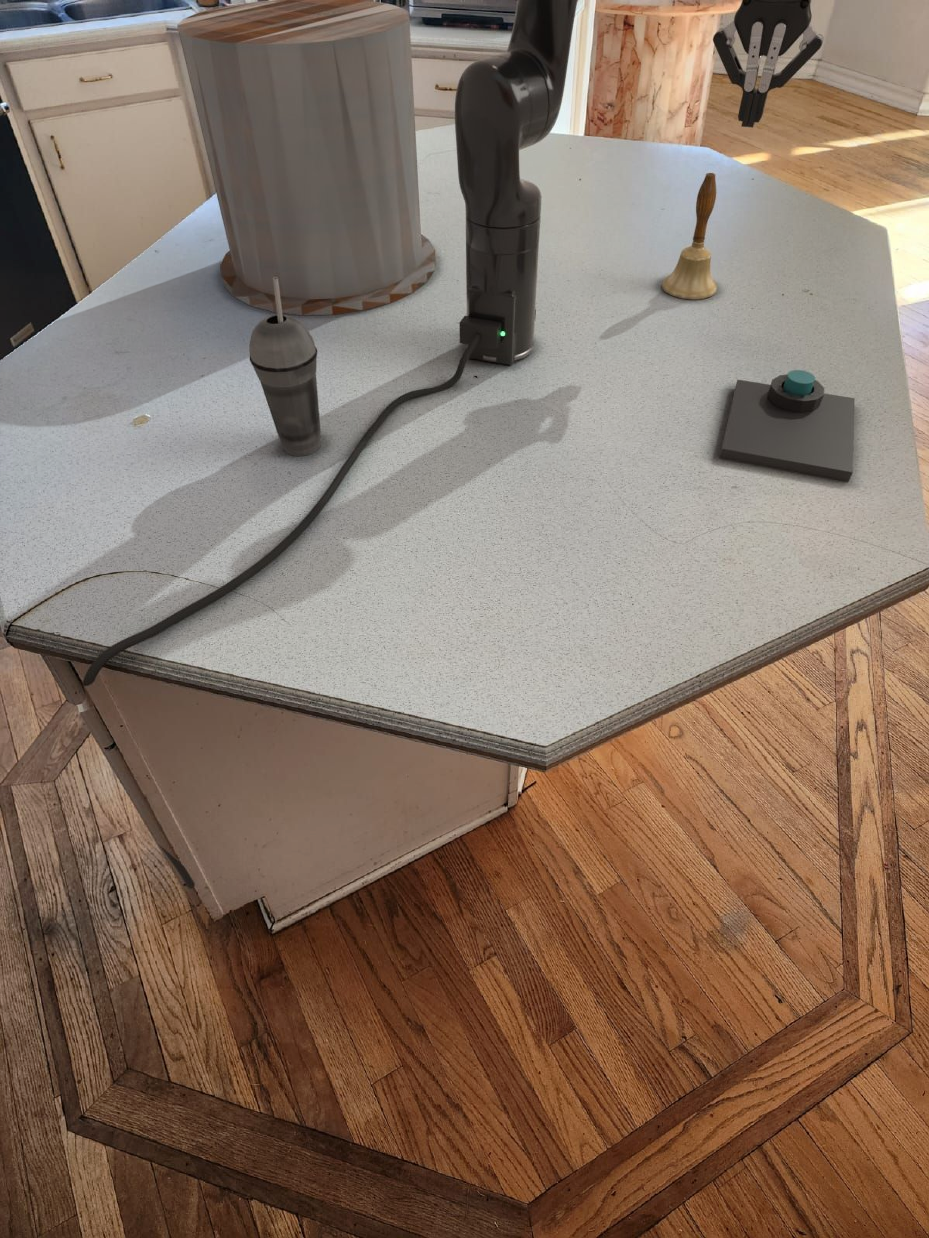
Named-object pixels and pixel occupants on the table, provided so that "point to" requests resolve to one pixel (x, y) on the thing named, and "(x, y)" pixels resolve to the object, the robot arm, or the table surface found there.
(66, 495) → the table surface
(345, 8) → the storage basket
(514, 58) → the robot arm
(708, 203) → the hand bell
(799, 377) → the button
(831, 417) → the scale
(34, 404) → the table surface
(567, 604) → the table surface
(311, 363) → the beverage cup
